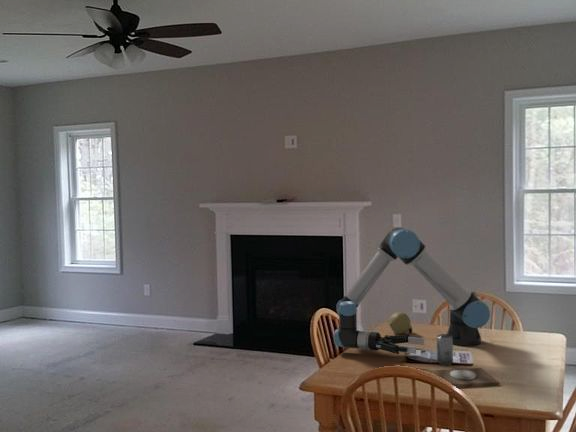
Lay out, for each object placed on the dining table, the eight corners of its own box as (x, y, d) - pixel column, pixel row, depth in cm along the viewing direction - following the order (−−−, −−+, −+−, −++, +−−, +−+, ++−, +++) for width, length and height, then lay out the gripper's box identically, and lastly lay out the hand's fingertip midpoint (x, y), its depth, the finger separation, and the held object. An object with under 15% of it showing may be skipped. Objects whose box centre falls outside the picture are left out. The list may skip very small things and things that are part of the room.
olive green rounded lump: (402, 343, 264) (419, 328, 262) (385, 325, 264) (401, 310, 262) (399, 337, 273) (415, 323, 272) (383, 320, 273) (399, 305, 272)
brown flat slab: (480, 371, 209) (480, 365, 209) (499, 385, 193) (499, 379, 193) (429, 373, 208) (429, 368, 208) (443, 388, 192) (443, 382, 192)
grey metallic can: (449, 361, 223) (449, 333, 222) (455, 365, 217) (454, 336, 216) (435, 361, 222) (434, 333, 222) (440, 366, 216) (439, 337, 216)
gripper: (378, 342, 245) (427, 347, 235) (360, 357, 222) (412, 363, 213) (378, 325, 244) (426, 329, 235) (359, 339, 222) (412, 344, 212)
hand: (420, 345), depth 224 cm, fingers open, 13 cm apart
